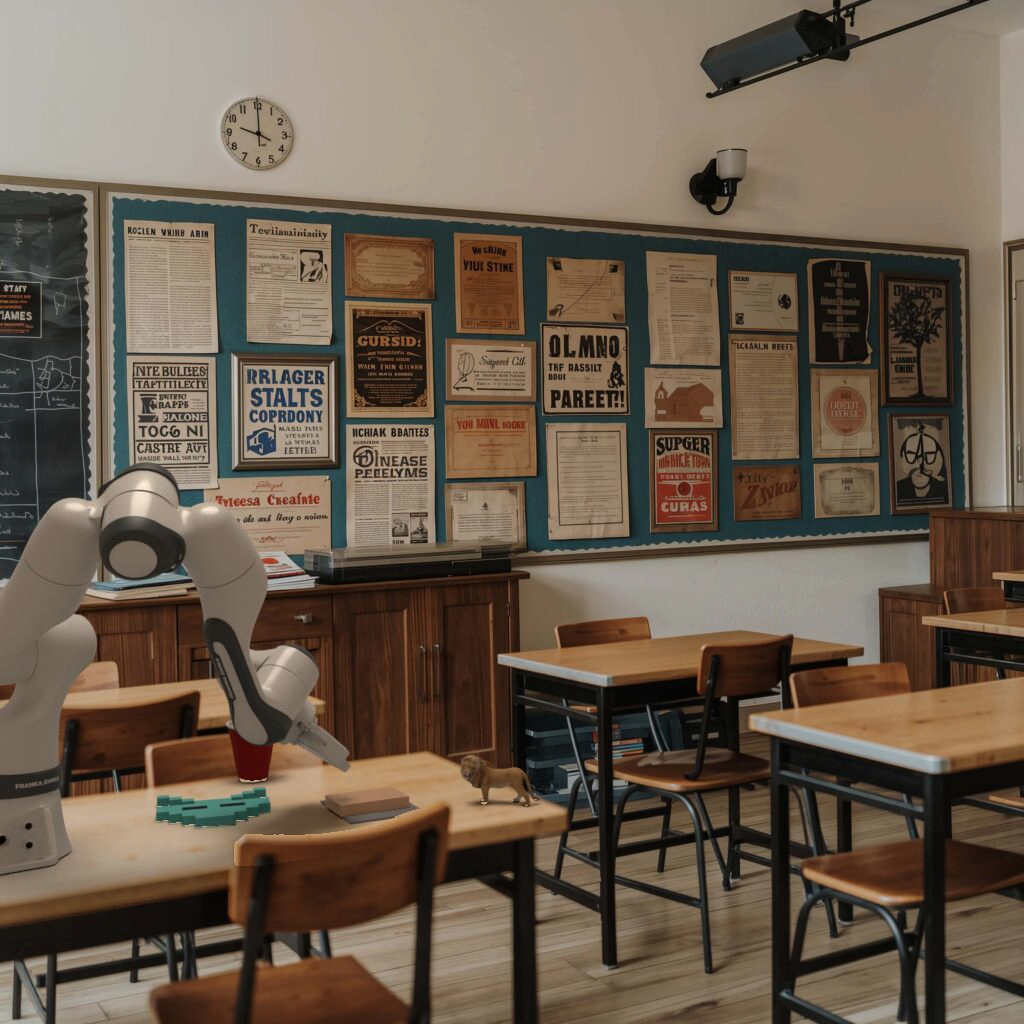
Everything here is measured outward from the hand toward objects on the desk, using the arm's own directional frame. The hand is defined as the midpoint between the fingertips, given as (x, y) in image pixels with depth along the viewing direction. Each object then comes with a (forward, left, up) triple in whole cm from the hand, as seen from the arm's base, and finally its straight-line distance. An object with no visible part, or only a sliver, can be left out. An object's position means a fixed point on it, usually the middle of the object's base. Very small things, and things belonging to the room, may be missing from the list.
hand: (345, 768), depth 223 cm
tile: (-2, +1, -7) cm, 7 cm away
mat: (+5, -1, -8) cm, 9 cm away
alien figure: (-16, +18, -9) cm, 26 cm away
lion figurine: (+21, -17, -8) cm, 29 cm away
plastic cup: (+4, +35, -8) cm, 36 cm away
